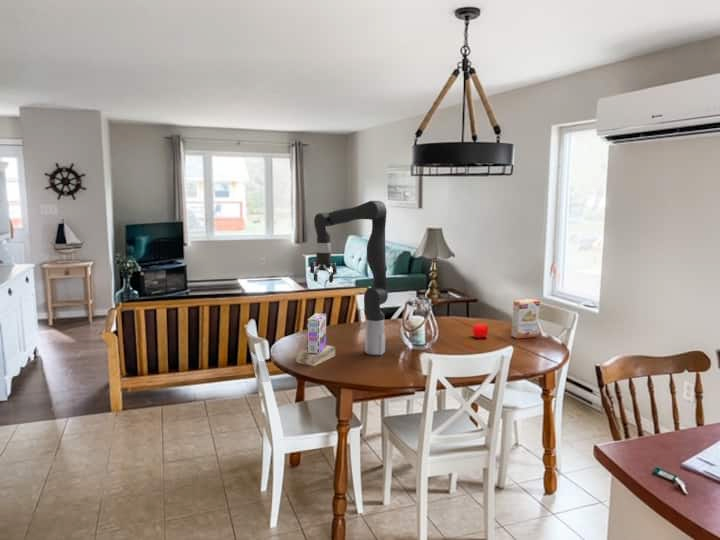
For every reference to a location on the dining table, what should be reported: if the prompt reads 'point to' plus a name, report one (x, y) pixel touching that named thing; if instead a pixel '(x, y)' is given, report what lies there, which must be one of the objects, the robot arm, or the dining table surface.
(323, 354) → the riser
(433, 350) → the dining table surface
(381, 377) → the dining table surface
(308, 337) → the candy box
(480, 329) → the red piece
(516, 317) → the cracker box
